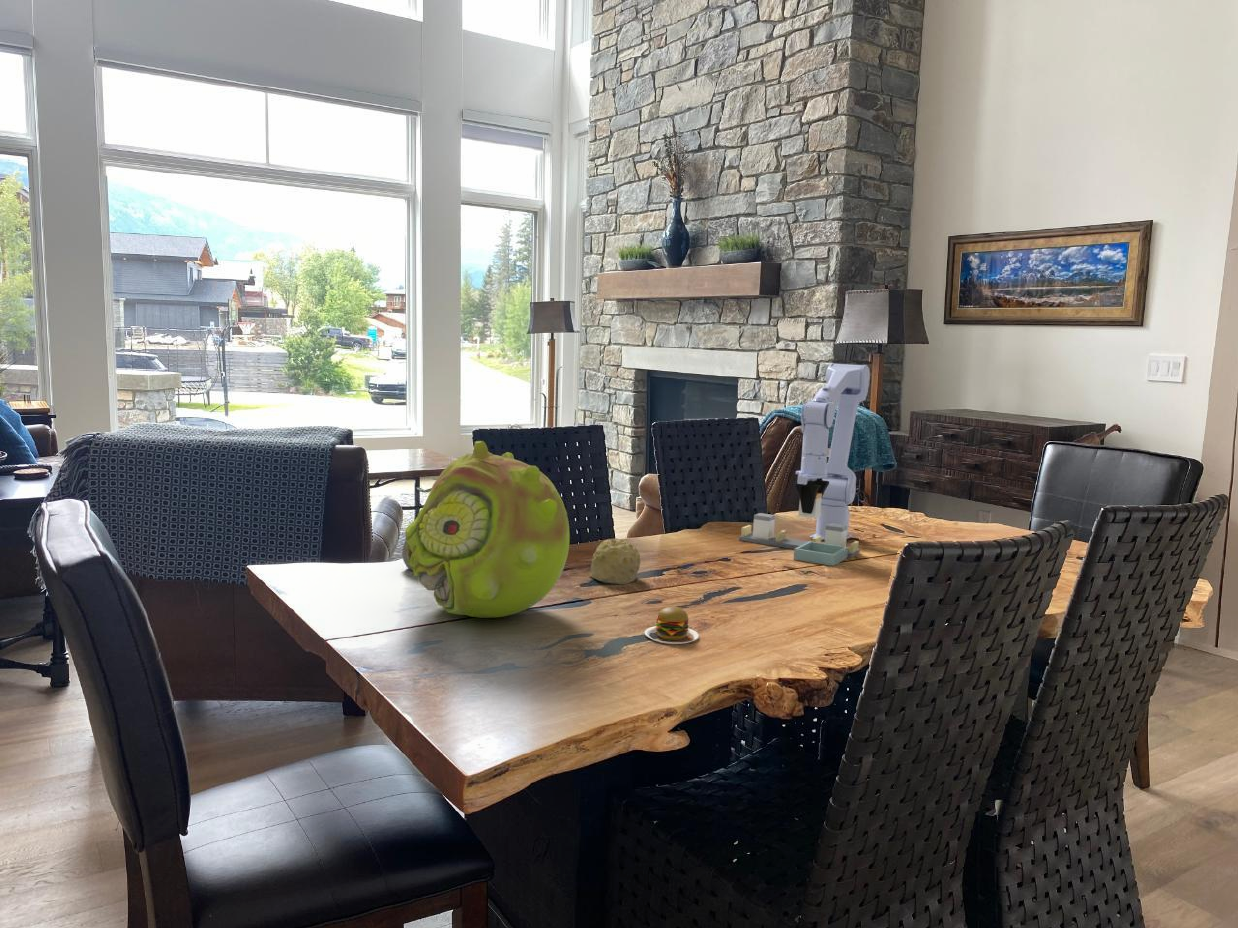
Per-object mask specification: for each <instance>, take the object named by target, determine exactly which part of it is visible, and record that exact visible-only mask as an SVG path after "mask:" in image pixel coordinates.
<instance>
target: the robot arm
mask: <svg viewBox="0 0 1238 928" xmlns="http://www.w3.org/2000/svg"><path fill="white" fill-rule="evenodd" d="M870 371H871V370H870V367H869V366H868V365H867V364H850V363H849V364H848V363H847V364H845V363H844V364H843V363H834V362H831V363H829V365H828V366H827V368H826V372H825V382H826V385H823V386H822V387H821V388H819V390H818V391H817V392H816V394H815V395H814V397H813V398H812V400H811V401H807V402H806V403H804V404H803V405H802V408H801V411H800V413H801V414H800V423H801V434H803V435H802V449H801V462H800V470H796V471H795V475H797V481H795V482H794V485H795V489H796V490H797V493H798V496H799V501H801V508H802V513H808V514H811V513H812V511H813V507H814V502H815V498H816V495H817V493H822V499H821V512H820V517H818V518H816V526H815V527H816V528H815V533H814V534H812V535H810V536H809V539H812V538H814V537H816V536H818V535H819V536H822V539H821V541H825V531H826V525H828V524H830V523H834V524H841V525H847V537H846V540H848V539H850V538H852V537H853V535H852V534H849V530H850V529H849V528H850V519H851V518H850V517H851V516H850V515H851V513H850V508H849V506H848V505H850V504H851V503H853V502H854V500H855V497H856V491H857V488H856V487H857V486H856V485H857V484H856V483H857V477H856V473H855V472H854V471H853V470H852V469H851V468H850V467H849V466H848V462H849V457H850V451H851V444H852V440H853V433H854V427H855V422H856V417H857V412H858V407H859V405H860V403H862V402H864V401H866V400H867V399H866V398H867V396H868V392H869V387H870V379H871V378H870V377H871V374H870V373H871V372H870ZM836 409H837V411H836ZM835 415H836V416H835ZM834 417H835V422H834ZM833 422H834V427H833V433H832V438H831V444H830V450H829V455H828V447H829V433H830V428H831V427H832V426H833ZM827 460H828V462H827Z"/></svg>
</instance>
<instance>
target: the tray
mask: <svg viewBox="0 0 1238 928" xmlns="http://www.w3.org/2000/svg"><path fill="white" fill-rule="evenodd" d="M808 541H809V540H808ZM848 547H849V546H846V547H844V546H837V545H831V544H825V542H824V543H823V542H821V543H818V542H812V541H809V542H807V543H805V544H803V545H801V546H799V547H797V548H795V549H793V560H794V561H800V562H805V563H811V564H819V565H822V566H823V565H824V566H830V567H835V566H836V565H838V564H840V563H841V562H843V561H845V560H846V559H848V558H847V556H848Z"/></svg>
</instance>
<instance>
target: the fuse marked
mask: <svg viewBox="0 0 1238 928" xmlns="http://www.w3.org/2000/svg"><path fill="white" fill-rule="evenodd" d="M821 499H822V493H817V495H816V498H815V502H814V507H813V511H812V513H811V514H808V513H802V508H801V501H800V500H799V501H798V502H799V504H798V517H799V518H800V517H802V518H806V519H807V518H809V519H817V518H818V517H820V512H821Z"/></svg>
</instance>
